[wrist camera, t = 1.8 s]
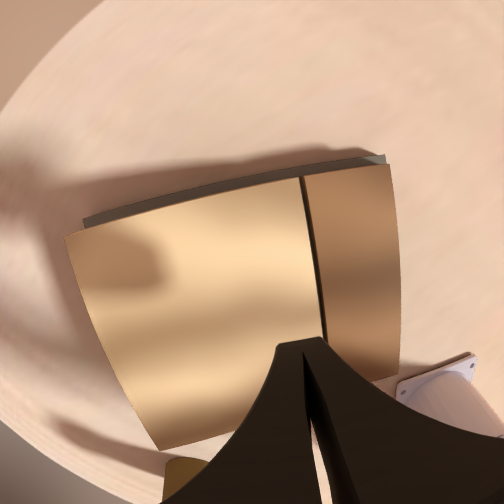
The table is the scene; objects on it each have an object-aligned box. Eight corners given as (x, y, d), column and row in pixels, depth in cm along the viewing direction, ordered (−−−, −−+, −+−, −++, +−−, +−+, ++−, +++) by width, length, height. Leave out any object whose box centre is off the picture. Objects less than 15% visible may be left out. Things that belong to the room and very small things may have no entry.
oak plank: (317, 380, 18) (328, 392, 17) (157, 435, 16) (159, 451, 14) (285, 178, 15) (298, 177, 14) (72, 233, 12) (63, 237, 11)
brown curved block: (390, 361, 18) (398, 374, 17) (328, 377, 19) (332, 391, 17) (378, 164, 15) (389, 163, 14) (300, 176, 15) (304, 176, 14)
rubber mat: (391, 357, 19) (396, 365, 18) (155, 394, 21) (151, 402, 20) (378, 155, 16) (385, 154, 15) (90, 216, 17) (82, 218, 16)
